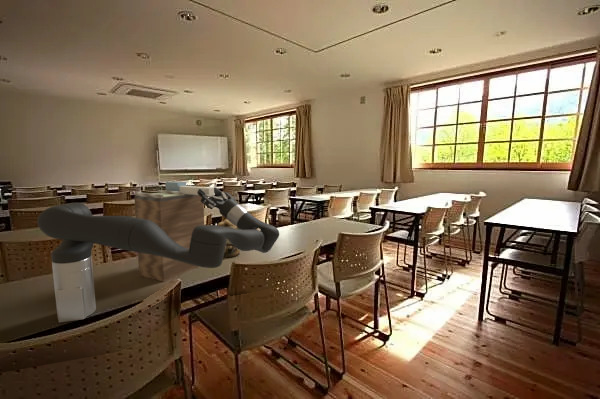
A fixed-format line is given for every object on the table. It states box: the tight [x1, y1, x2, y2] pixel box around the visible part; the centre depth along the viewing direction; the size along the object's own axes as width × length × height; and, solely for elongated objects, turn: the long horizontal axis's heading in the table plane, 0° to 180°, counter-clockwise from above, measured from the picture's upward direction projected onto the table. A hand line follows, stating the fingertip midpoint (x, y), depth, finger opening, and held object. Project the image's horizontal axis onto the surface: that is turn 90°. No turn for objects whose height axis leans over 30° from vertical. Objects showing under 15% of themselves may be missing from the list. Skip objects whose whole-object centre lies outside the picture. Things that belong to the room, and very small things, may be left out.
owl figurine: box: [217, 219, 241, 259], centre depth 146 cm, size 18×12×17 cm, turn 39°
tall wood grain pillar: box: [134, 189, 205, 282], centre depth 122 cm, size 14×22×33 cm, turn 155°
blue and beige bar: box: [165, 180, 215, 196], centre depth 122 cm, size 23×4×4 cm, turn 65°
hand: (206, 189), depth 118 cm, fingers open, 8 cm apart
